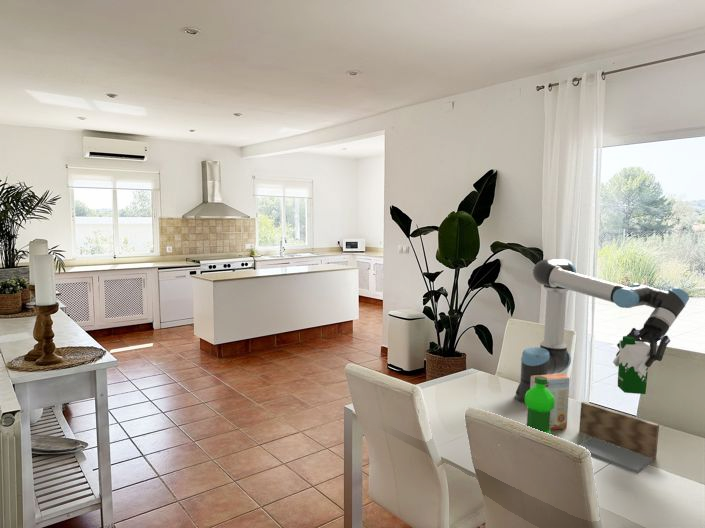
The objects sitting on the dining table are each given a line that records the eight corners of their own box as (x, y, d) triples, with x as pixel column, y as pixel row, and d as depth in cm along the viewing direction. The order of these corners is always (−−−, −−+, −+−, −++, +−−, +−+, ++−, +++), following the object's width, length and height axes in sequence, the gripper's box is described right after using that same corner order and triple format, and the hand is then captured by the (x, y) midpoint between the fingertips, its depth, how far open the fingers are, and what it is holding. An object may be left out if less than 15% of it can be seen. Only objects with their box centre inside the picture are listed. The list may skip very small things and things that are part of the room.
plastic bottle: (546, 453, 166) (551, 384, 163) (517, 443, 172) (521, 377, 170) (556, 443, 173) (560, 378, 171) (527, 434, 180) (531, 371, 178)
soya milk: (614, 385, 180) (617, 334, 178) (639, 386, 179) (643, 335, 177) (622, 393, 172) (626, 340, 170) (649, 395, 170) (654, 341, 168)
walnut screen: (579, 432, 184) (581, 402, 183) (581, 430, 185) (583, 401, 184) (654, 458, 164) (657, 425, 163) (656, 457, 165) (659, 424, 164)
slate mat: (576, 449, 169) (576, 446, 169) (592, 439, 178) (592, 437, 178) (637, 473, 154) (637, 470, 154) (651, 461, 162) (651, 458, 162)
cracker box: (557, 422, 192) (560, 372, 190) (567, 429, 186) (570, 377, 184) (526, 425, 189) (530, 374, 187) (536, 431, 183) (539, 379, 181)
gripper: (693, 335, 169) (660, 383, 164) (636, 322, 189) (605, 365, 184) (685, 322, 167) (651, 370, 162) (628, 310, 186) (596, 353, 182)
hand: (627, 368), depth 173 cm, fingers closed on soya milk, 9 cm apart
